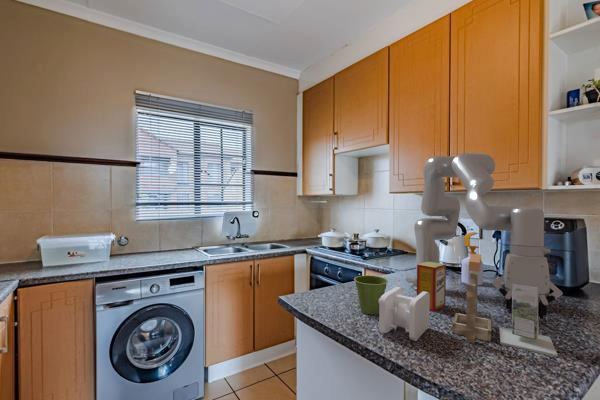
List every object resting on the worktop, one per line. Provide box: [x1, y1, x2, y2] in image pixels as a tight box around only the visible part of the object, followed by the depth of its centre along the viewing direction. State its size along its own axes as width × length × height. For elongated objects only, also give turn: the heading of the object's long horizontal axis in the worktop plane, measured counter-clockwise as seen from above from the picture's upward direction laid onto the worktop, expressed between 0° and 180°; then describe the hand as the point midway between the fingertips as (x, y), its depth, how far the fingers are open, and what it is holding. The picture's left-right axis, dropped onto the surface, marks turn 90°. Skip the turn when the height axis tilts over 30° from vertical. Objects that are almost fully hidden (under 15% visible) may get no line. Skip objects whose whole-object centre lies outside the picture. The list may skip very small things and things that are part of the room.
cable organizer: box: [378, 286, 430, 342], centre depth 89 cm, size 15×11×12 cm
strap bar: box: [469, 253, 482, 272], centre depth 105 cm, size 3×18×3 cm, turn 147°
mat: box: [499, 326, 558, 358], centre depth 83 cm, size 12×12×1 cm
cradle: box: [452, 272, 492, 345], centre depth 89 cm, size 10×18×16 cm, turn 147°
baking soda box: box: [416, 262, 447, 313], centre depth 110 cm, size 10×6×16 cm
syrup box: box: [511, 284, 540, 340], centre depth 83 cm, size 6×6×14 cm
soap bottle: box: [460, 231, 484, 286], centre depth 143 cm, size 9×9×25 cm
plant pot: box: [353, 274, 389, 315], centre depth 105 cm, size 12×12×11 cm
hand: (525, 314), depth 83 cm, fingers closed on syrup box, 6 cm apart
